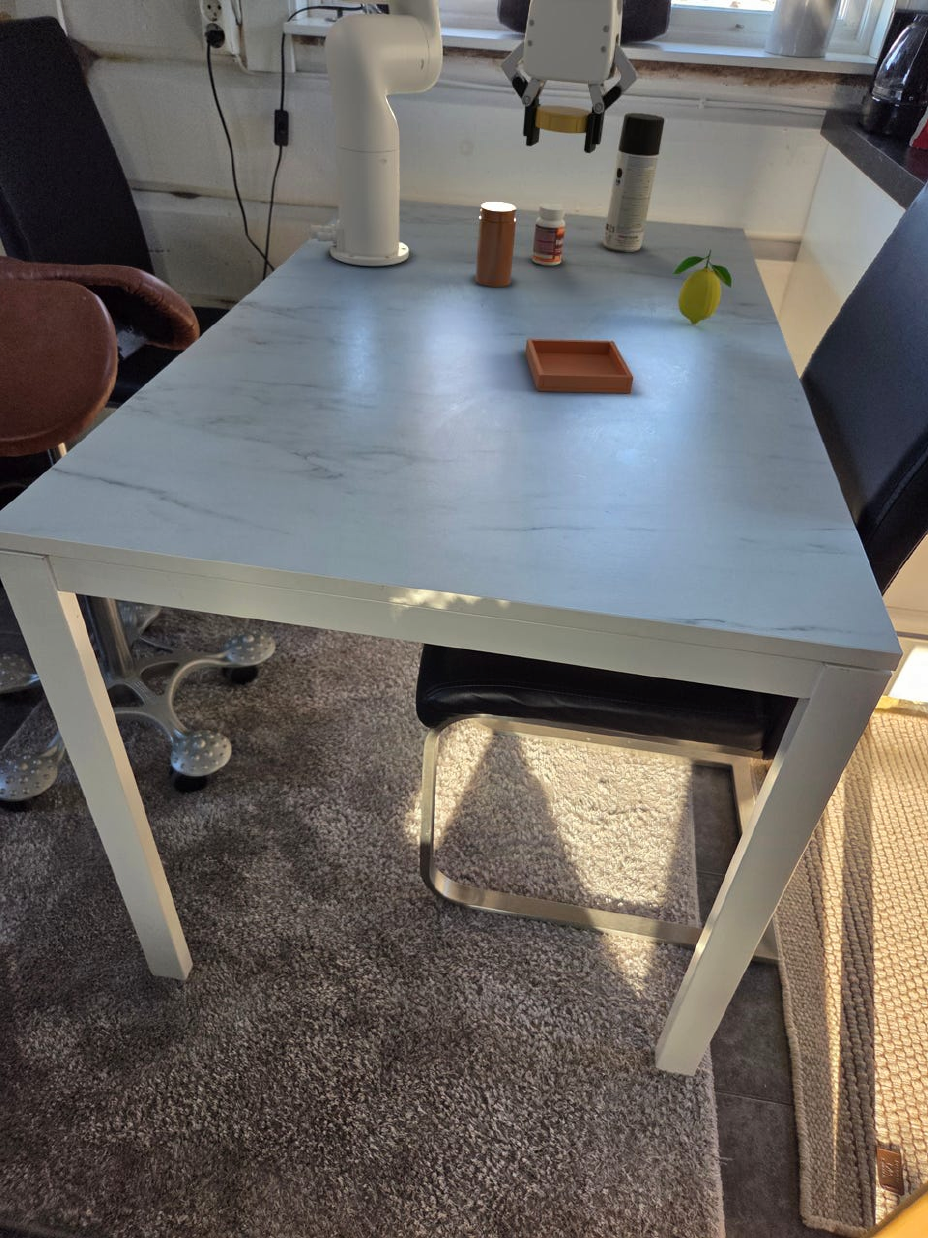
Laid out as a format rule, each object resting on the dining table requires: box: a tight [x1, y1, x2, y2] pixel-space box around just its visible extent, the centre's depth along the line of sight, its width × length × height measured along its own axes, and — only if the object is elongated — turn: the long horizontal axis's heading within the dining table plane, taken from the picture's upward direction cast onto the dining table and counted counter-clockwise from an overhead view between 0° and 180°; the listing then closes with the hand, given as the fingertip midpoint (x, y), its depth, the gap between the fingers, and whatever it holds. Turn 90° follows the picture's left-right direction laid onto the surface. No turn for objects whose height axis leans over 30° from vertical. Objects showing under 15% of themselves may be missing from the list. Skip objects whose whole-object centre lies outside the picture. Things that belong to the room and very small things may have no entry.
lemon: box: [672, 249, 732, 325], centre depth 114 cm, size 7×6×10 cm
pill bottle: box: [531, 203, 566, 267], centre depth 134 cm, size 5×5×8 cm
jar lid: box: [535, 104, 592, 134], centre depth 96 cm, size 6×6×2 cm
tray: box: [524, 338, 634, 394], centre depth 101 cm, size 11×11×2 cm
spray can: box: [603, 112, 665, 253], centre depth 139 cm, size 7×7×20 cm
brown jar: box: [475, 201, 517, 288], centre depth 124 cm, size 5×5×11 cm
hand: (560, 146), depth 98 cm, fingers closed on jar lid, 6 cm apart
